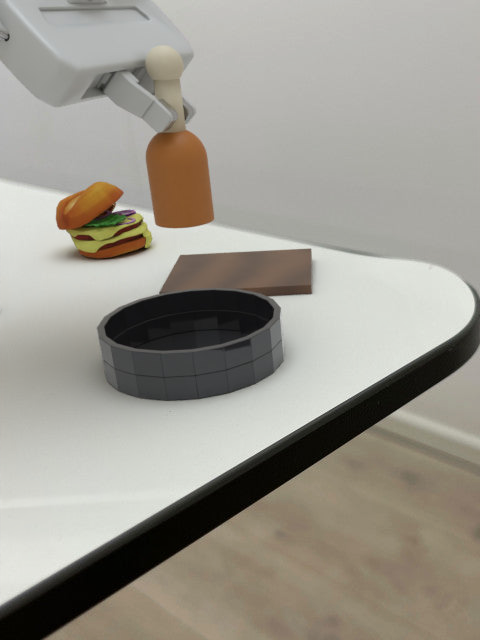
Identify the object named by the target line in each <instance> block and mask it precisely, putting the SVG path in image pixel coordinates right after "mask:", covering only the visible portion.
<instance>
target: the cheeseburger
mask: <svg viewBox="0 0 480 640" xmlns="http://www.w3.org/2000/svg"><path fill="white" fill-rule="evenodd" d="M123 195H124V191H123V189H121V188H119V187H118V186H116V185H114V184H112V183H109V182H106V181H96V182H94V183H92V184H91V185H89V186H88V187H87V188H85V189H83V190H80V191H77V192H76V193H75V192H74V193H73V194H71V195H68V196H66V197H64V198H62V199H61V200H59V202H58V204H57V206H56V210H55V222H56V227H57V228H58V230H61V231H66V233H68V234H69V236H70V238H71V240H72V242H73V244H74V246H75V247H76V249H77V251H78V252H79V254H80V255H82V256H85V257H87V258H92V259H98V260H99V259H101V260H102V259H109V258H114V257H117V256H120V255H124V254H127V253H130V252H134V251H137V250H139V249H142V248H145V249H148V248H150V246H151V244H152V241H153V236H152V235H153V234H152V232H151V231H150V230H149V229H148V224H147V222H145V220H144V219H145V218H144V216H143V215H142V214H141V213H139V212H137V211H136V210H135V209H122V210H118V211H114V210H115V209H116V206H117V202H118V201H119V200H120V199H121V198H122V196H123Z"/></svg>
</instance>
